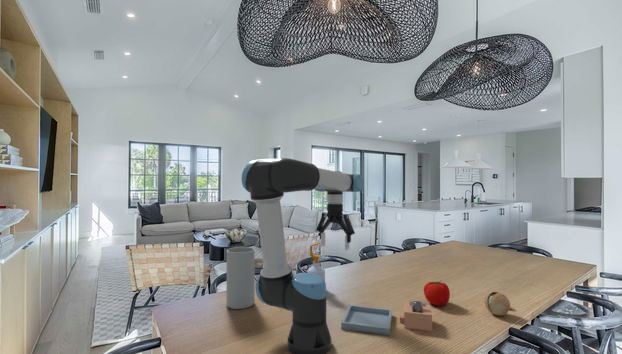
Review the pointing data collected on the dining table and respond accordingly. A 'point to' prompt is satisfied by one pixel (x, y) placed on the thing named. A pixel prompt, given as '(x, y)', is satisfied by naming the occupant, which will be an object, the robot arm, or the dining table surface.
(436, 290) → the tomato
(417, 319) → the ring frame
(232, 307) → the cylinder vase
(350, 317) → the tray
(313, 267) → the soap bottle
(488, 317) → the dining table surface
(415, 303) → the grey t-shaped piece
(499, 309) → the onion
